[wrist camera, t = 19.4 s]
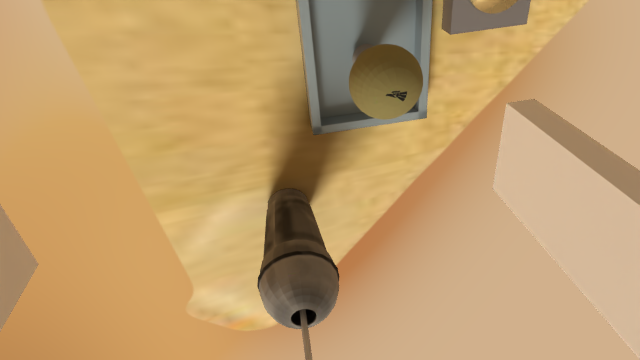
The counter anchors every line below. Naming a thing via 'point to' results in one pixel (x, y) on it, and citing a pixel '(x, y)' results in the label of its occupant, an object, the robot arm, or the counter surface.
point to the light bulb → (385, 80)
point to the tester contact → (492, 5)
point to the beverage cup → (296, 266)
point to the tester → (480, 16)
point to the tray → (339, 45)
